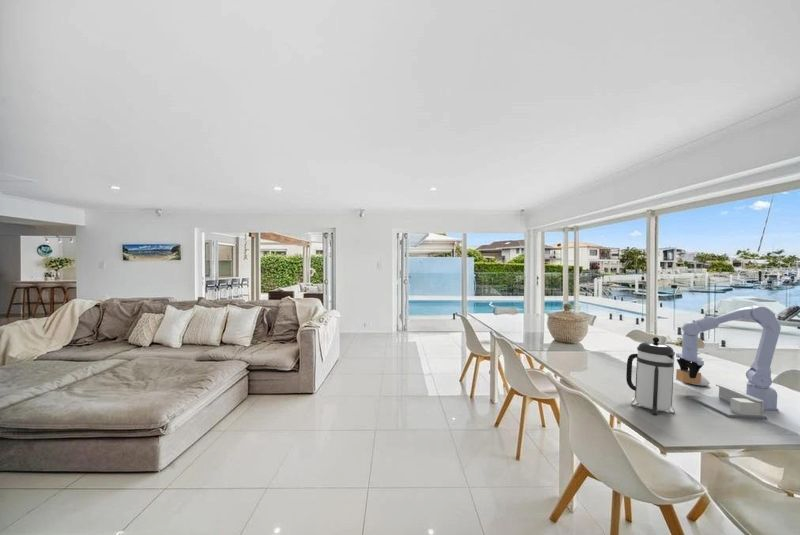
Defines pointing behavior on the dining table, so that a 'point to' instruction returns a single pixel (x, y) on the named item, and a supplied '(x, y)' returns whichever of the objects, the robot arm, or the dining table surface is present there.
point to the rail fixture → (733, 403)
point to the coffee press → (653, 376)
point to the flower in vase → (700, 345)
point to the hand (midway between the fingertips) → (688, 376)
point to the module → (687, 376)
